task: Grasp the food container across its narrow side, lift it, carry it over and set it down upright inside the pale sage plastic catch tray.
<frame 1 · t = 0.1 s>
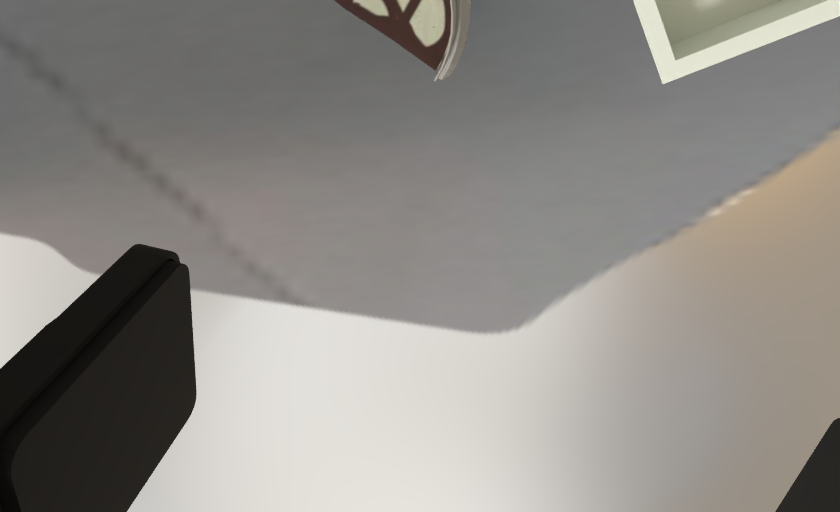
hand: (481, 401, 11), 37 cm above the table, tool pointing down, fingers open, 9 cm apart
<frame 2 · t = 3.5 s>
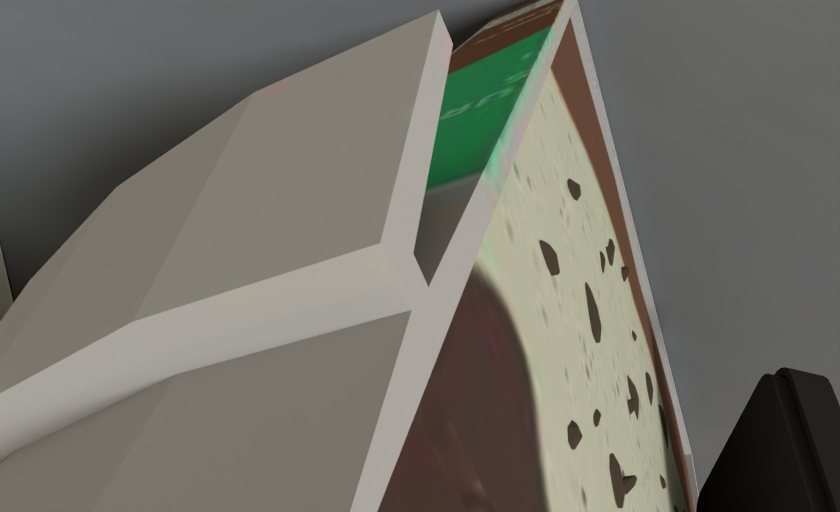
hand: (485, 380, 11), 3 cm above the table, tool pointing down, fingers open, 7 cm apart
food container: (472, 284, 13), on the table
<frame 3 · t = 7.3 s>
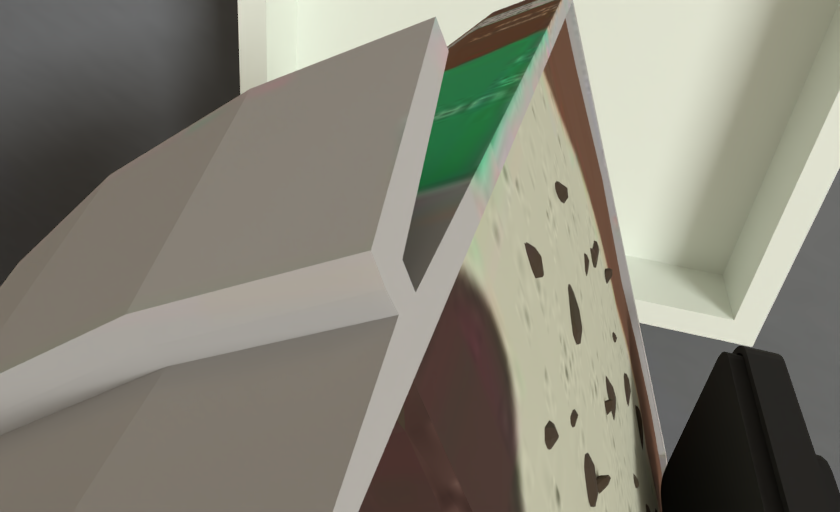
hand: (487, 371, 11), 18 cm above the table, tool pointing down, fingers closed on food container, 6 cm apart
food container: (457, 278, 13), point 16 cm above the table, touching gripper
catch tray: (542, 30, 26), on the table
when the fingers open (5 cm above the table, at t = 10.8 s): food container drops 1 cm, resting on catch tray.
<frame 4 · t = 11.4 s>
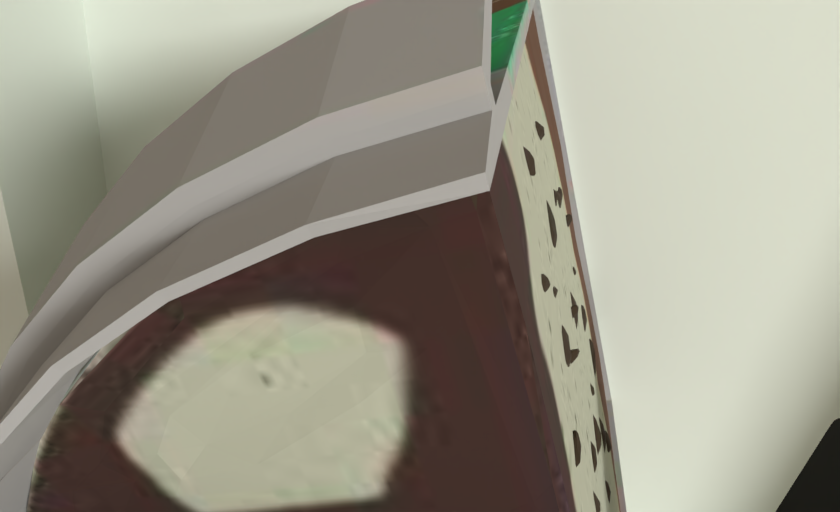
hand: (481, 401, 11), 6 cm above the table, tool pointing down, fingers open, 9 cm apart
food container: (429, 240, 15), point 1 cm above the table, touching catch tray, gripper
catch tray: (517, 214, 15), on the table
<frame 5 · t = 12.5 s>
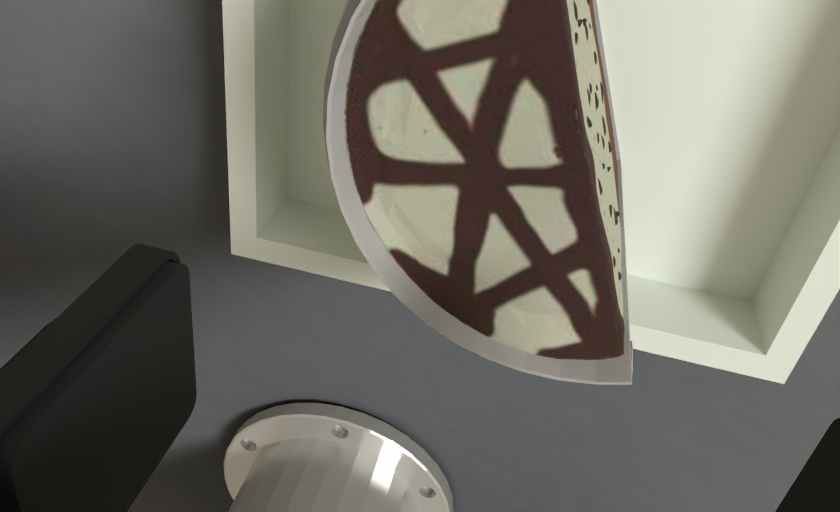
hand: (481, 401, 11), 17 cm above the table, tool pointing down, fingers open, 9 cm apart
food container: (504, 46, 23), point 1 cm above the table, touching catch tray
catch tray: (561, 33, 24), on the table
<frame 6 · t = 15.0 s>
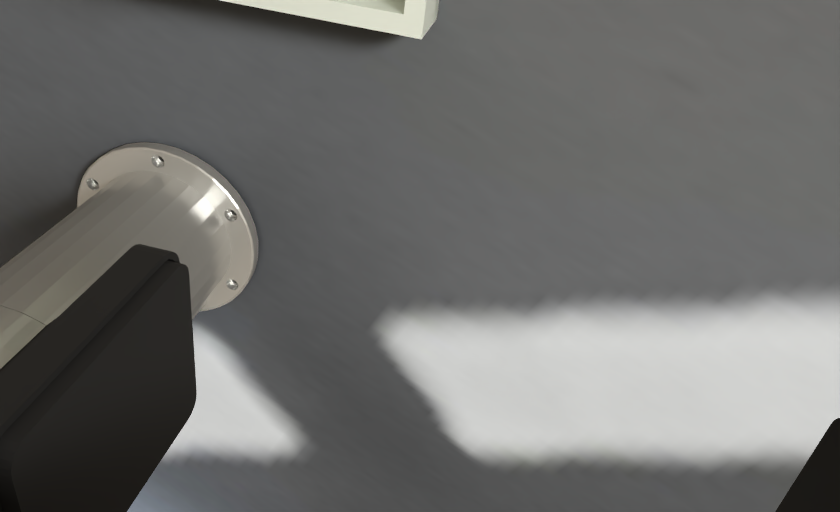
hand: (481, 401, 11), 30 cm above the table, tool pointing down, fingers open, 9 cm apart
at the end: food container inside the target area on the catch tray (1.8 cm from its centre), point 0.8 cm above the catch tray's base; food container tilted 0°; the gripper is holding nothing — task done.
